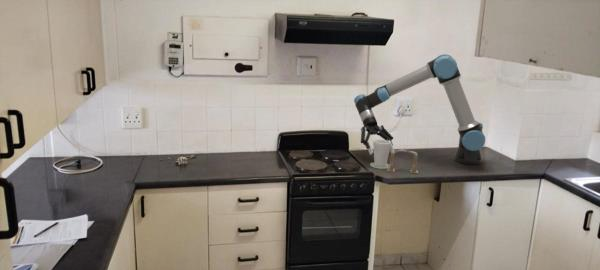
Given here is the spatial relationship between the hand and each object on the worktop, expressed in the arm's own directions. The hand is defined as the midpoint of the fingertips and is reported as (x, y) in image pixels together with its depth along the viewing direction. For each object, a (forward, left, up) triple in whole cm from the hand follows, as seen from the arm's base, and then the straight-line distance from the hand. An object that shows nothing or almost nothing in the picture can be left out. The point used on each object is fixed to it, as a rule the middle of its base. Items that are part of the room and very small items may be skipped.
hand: (382, 152), depth 265 cm
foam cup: (0, -1, -7) cm, 8 cm away
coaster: (0, -1, -8) cm, 8 cm away
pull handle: (-11, +5, -8) cm, 14 cm away
